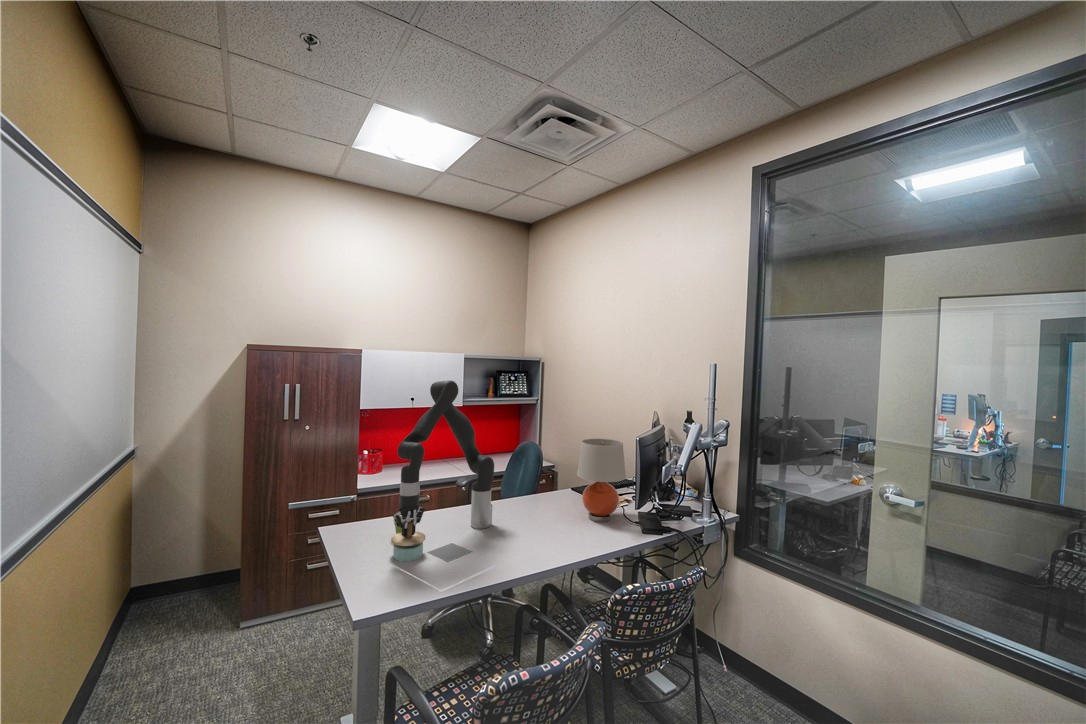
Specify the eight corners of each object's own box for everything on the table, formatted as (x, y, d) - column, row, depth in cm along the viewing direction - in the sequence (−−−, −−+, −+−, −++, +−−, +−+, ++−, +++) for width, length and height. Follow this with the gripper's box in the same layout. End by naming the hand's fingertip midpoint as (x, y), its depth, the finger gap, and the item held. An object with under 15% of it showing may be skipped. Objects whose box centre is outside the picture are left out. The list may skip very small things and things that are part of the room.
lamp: (565, 516, 234) (568, 440, 234) (597, 506, 251) (599, 436, 251) (602, 530, 216) (605, 448, 216) (634, 519, 233) (636, 443, 232)
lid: (412, 530, 191) (413, 514, 191) (431, 539, 183) (432, 522, 183) (384, 539, 181) (385, 522, 181) (403, 549, 173) (404, 531, 173)
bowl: (411, 548, 190) (411, 536, 190) (427, 555, 183) (428, 543, 183) (387, 556, 181) (388, 543, 181) (404, 565, 174) (404, 551, 174)
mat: (452, 544, 195) (452, 542, 195) (472, 553, 187) (472, 551, 187) (426, 553, 185) (426, 552, 185) (447, 563, 177) (447, 561, 177)
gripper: (418, 487, 190) (417, 528, 190) (388, 494, 179) (387, 538, 179) (430, 490, 185) (428, 533, 185) (399, 498, 174) (398, 543, 174)
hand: (408, 535), depth 182 cm, fingers closed on lid, 2 cm apart
